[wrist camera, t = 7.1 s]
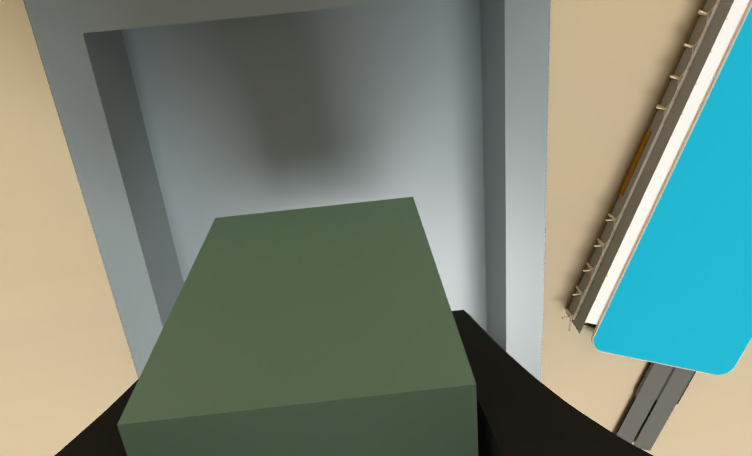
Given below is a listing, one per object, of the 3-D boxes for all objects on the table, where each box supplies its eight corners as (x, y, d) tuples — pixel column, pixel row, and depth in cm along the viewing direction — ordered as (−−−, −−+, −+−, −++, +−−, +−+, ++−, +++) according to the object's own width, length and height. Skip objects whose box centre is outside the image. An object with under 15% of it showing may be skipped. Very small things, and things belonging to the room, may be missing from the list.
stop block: (249, 379, 14) (193, 654, 8) (215, 218, 12) (117, 425, 7) (424, 360, 14) (483, 619, 8) (413, 196, 12) (476, 384, 7)
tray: (194, 422, 21) (172, 492, 18) (76, -17, 15) (19, -13, 12) (512, 386, 21) (539, 450, 18) (513, -61, 15) (552, -66, 13)
